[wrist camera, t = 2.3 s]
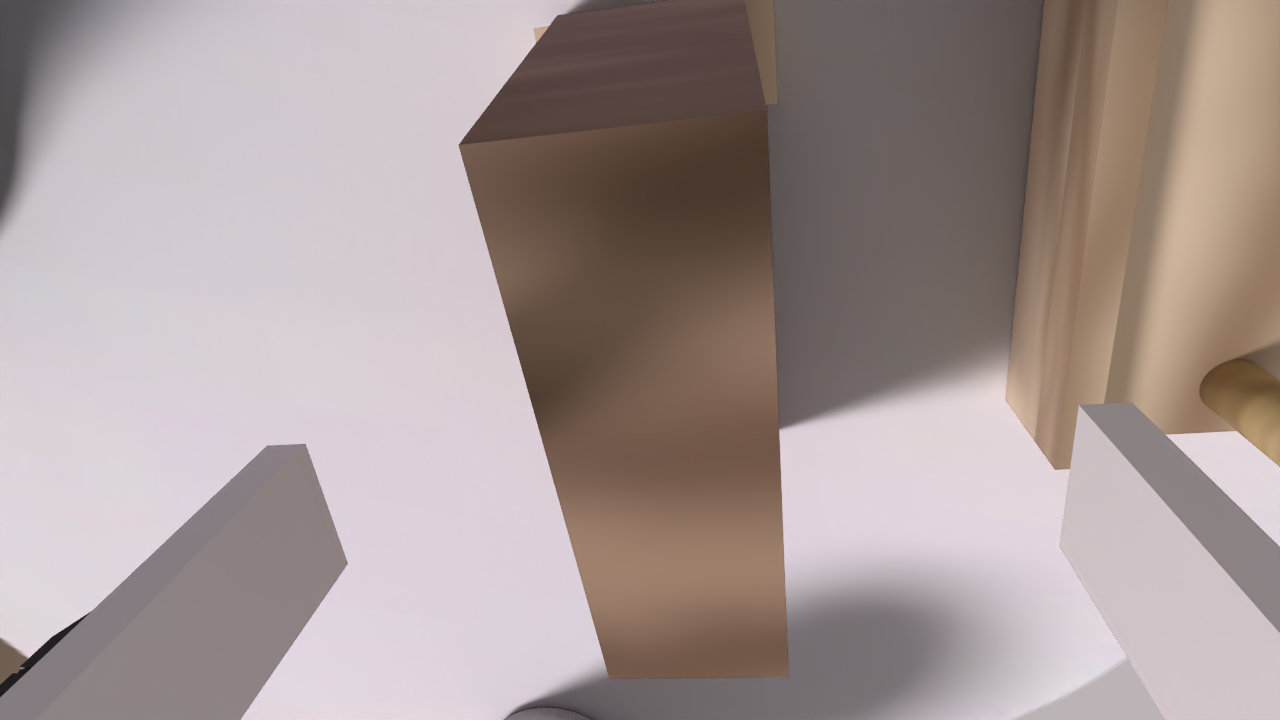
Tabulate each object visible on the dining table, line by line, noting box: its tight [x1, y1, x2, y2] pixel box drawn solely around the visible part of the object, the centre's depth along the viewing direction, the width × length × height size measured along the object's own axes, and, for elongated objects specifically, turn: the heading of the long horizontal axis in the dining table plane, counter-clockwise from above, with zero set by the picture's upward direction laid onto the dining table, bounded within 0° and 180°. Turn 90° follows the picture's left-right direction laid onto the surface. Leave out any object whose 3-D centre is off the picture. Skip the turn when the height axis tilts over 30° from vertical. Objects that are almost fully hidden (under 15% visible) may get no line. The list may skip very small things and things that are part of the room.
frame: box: [459, 0, 789, 679], centre depth 18 cm, size 14×5×9 cm, turn 7°
